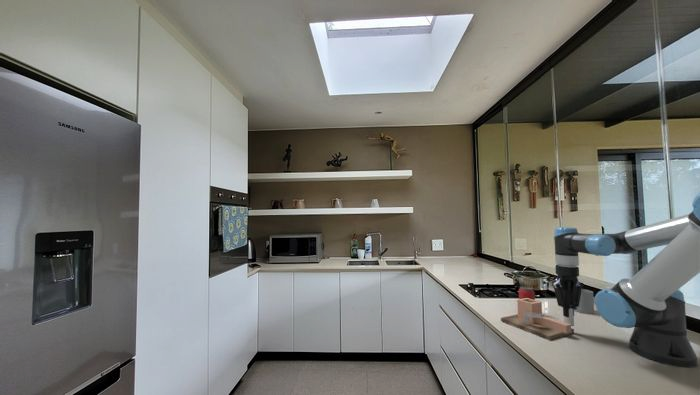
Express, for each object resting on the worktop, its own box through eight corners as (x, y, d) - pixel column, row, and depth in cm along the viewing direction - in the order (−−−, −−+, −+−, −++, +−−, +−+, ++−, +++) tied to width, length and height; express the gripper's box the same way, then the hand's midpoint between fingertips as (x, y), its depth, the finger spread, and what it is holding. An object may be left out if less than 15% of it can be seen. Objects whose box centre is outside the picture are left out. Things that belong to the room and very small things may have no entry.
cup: (568, 309, 137) (567, 289, 137) (577, 307, 140) (576, 287, 141) (588, 315, 129) (587, 293, 130) (597, 312, 132) (596, 291, 133)
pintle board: (574, 333, 109) (573, 313, 110) (549, 340, 103) (548, 319, 103) (524, 316, 128) (524, 299, 128) (500, 321, 121) (500, 303, 122)
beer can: (530, 311, 134) (529, 286, 135) (538, 316, 128) (537, 289, 129) (516, 310, 135) (515, 285, 136) (523, 315, 128) (522, 289, 129)
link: (518, 318, 121) (517, 299, 122) (527, 315, 124) (526, 297, 124) (564, 334, 104) (563, 312, 105) (573, 331, 107) (572, 310, 108)
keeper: (525, 327, 115) (524, 311, 115) (540, 329, 113) (539, 313, 113) (526, 330, 112) (525, 313, 112) (542, 332, 110) (541, 315, 110)
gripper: (571, 263, 116) (573, 320, 115) (545, 264, 114) (546, 322, 113) (589, 266, 109) (592, 327, 107) (561, 267, 107) (564, 329, 105)
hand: (569, 324), depth 110 cm, fingers closed
